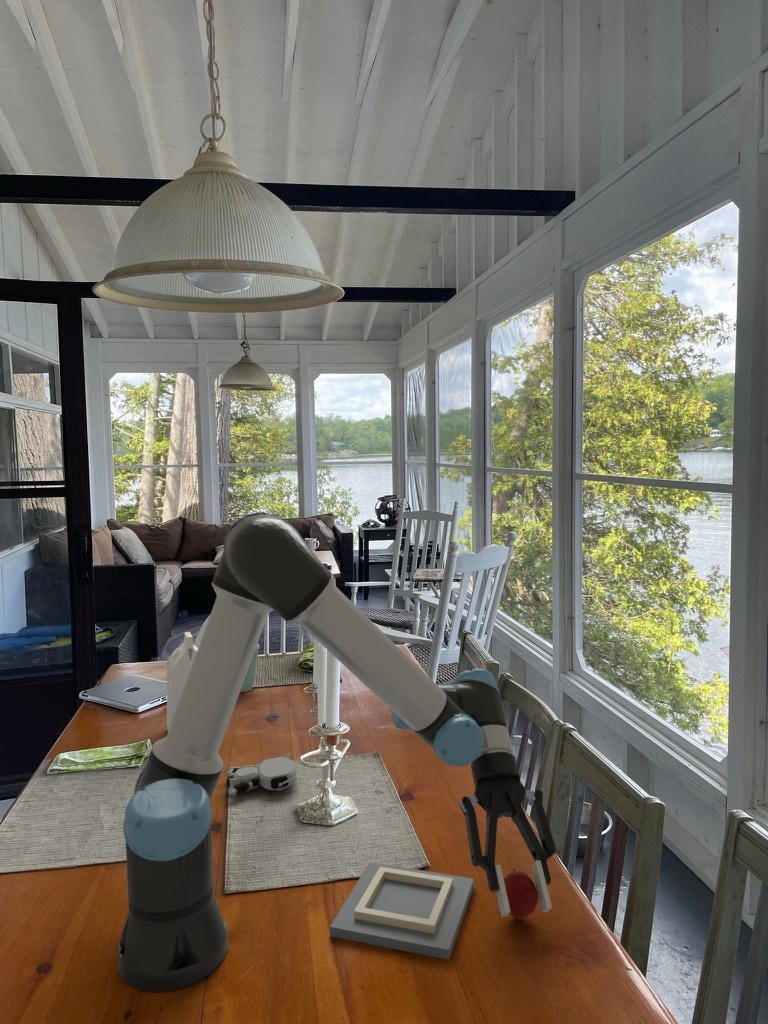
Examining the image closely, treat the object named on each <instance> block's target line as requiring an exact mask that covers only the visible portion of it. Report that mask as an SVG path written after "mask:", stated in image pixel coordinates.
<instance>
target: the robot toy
mask: <svg viewBox="0 0 768 1024" xmlns="http://www.w3.org/2000/svg"><path fill="white" fill-rule="evenodd" d="M290 756H291V754H290V753H289V754H286V755H284V756H278V757H274V758H268V759H265V760H263V761H262V762H261V763H259V765H258V767H255V766H249V767H234V768H233V769H228V770H227V771H226V772H225V773H226V776H228V778H227V779H226V786H227V787H228V788H229V789H228V791H227V792H228V794H229V795H230V796H234V795H238V796H239V795H241V794H244V793H247V792H246V791H248V792H249V791H251V790H254V789H255V790H256V789H257V788H258V787H259V786H261V787H262V788H264V789H266V790H269V791H277V792H280V791H284V790H285V789H286V788H289V787H291V786H292V785H293V784H294V783H295V781H296V780H297V778H298V775H297V772H298V771H297V765H296V763H295V762H294V761H293V760H291V759H290V758H289V757H290Z"/></svg>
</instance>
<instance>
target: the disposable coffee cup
mask: <svg viewBox="0 0 768 1024" xmlns="http://www.w3.org/2000/svg"><path fill="white" fill-rule="evenodd" d="M260 648H261V647H260V644H259V642H258V643H257V646H256V648H255V651H254V654H253V657H252V660H251V662H250V665H249V668H248V671H247V673H246V676H245V679H244V682H243V685H242V687H241V690H240V693H245V692H249V691H251V690H253V687H254V684H255V676H256V669H257V662H258V655H259V654H258V653H259V650H260Z"/></svg>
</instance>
